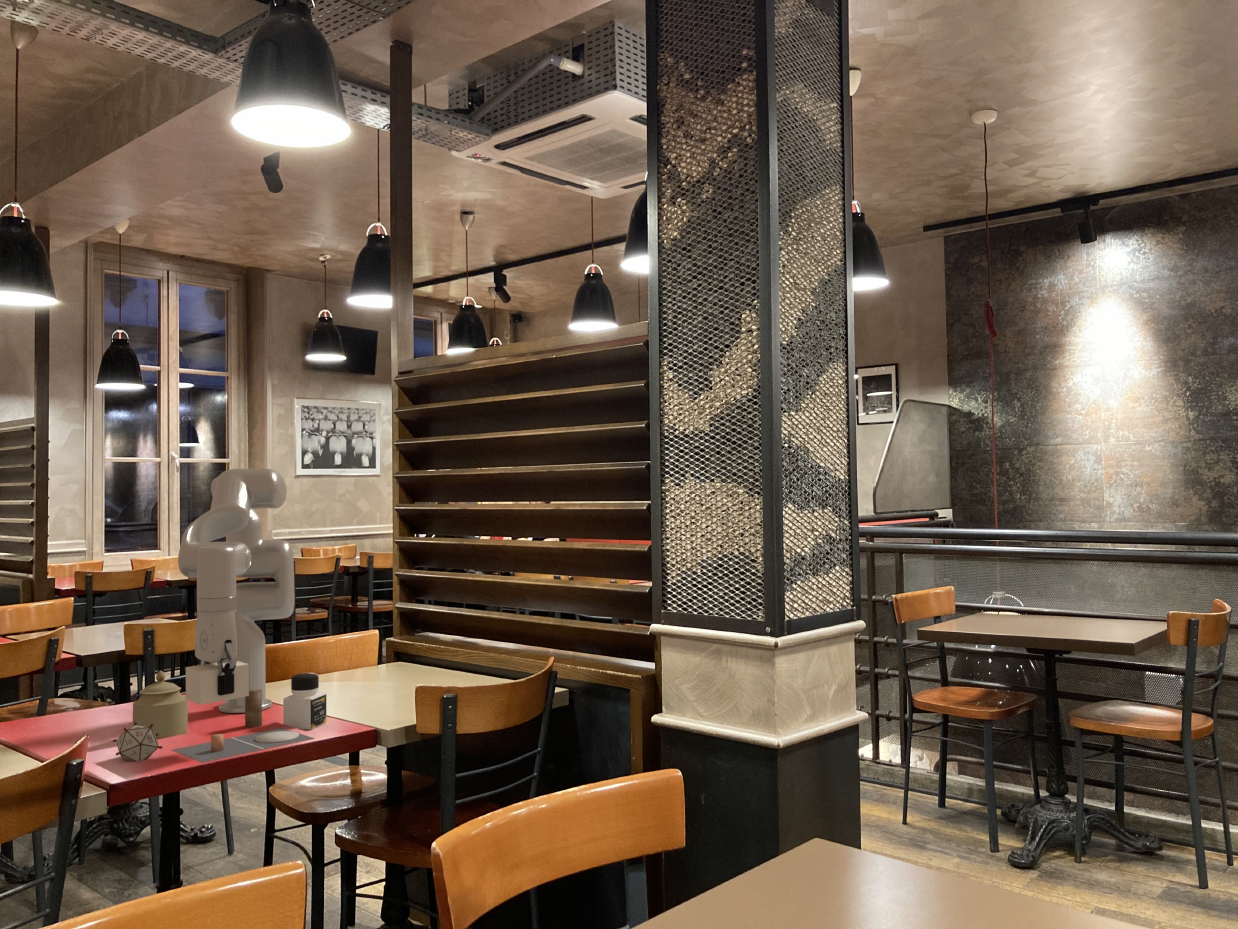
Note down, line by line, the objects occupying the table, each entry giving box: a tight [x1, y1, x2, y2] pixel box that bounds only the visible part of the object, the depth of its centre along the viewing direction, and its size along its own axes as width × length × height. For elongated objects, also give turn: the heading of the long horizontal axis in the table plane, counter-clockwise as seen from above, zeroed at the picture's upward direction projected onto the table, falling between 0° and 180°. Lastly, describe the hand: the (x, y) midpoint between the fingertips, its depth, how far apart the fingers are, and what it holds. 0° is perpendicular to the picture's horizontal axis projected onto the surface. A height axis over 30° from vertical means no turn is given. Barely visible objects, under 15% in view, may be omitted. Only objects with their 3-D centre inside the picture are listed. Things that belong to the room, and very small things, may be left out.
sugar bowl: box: [132, 670, 189, 740], centre depth 212 cm, size 15×11×15 cm
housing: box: [185, 661, 249, 706], centre depth 196 cm, size 7×10×7 cm
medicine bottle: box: [282, 672, 327, 731], centre depth 220 cm, size 7×7×12 cm
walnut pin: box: [244, 690, 263, 729], centre depth 216 cm, size 4×4×9 cm
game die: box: [111, 721, 164, 762], centre depth 190 cm, size 9×8×10 cm
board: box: [172, 727, 316, 763], centre depth 200 cm, size 15×24×4 cm, turn 137°
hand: (217, 690), depth 196 cm, fingers closed on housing, 7 cm apart
